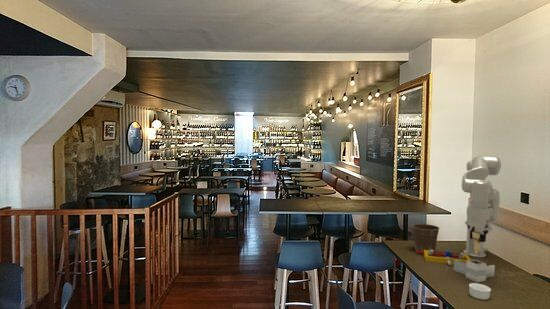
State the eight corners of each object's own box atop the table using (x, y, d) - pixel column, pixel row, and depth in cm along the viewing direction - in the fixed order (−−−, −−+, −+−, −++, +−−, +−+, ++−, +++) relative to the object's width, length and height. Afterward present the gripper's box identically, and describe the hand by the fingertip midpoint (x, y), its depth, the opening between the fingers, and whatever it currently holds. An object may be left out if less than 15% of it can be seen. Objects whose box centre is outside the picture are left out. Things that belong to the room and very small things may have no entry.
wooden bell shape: (475, 251, 188) (477, 230, 188) (485, 254, 183) (486, 233, 183) (468, 252, 186) (469, 231, 186) (477, 255, 181) (478, 233, 181)
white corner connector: (471, 267, 203) (472, 251, 202) (499, 278, 187) (500, 261, 187) (449, 270, 197) (450, 254, 196) (476, 282, 181) (477, 264, 181)
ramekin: (482, 292, 170) (483, 283, 170) (494, 300, 161) (495, 291, 161) (464, 291, 170) (464, 282, 170) (475, 300, 161) (476, 291, 161)
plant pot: (405, 248, 236) (406, 224, 235) (425, 246, 241) (426, 222, 240) (423, 256, 220) (424, 230, 219) (444, 254, 225) (445, 229, 224)
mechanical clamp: (416, 244, 226) (469, 249, 217) (415, 254, 226) (468, 259, 217) (419, 253, 208) (476, 259, 200) (418, 263, 209) (476, 270, 200)
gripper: (459, 202, 190) (458, 236, 191) (489, 208, 174) (487, 245, 175) (470, 202, 193) (468, 235, 194) (500, 208, 177) (498, 244, 178)
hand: (477, 239), depth 184 cm, fingers closed on wooden bell shape, 5 cm apart
